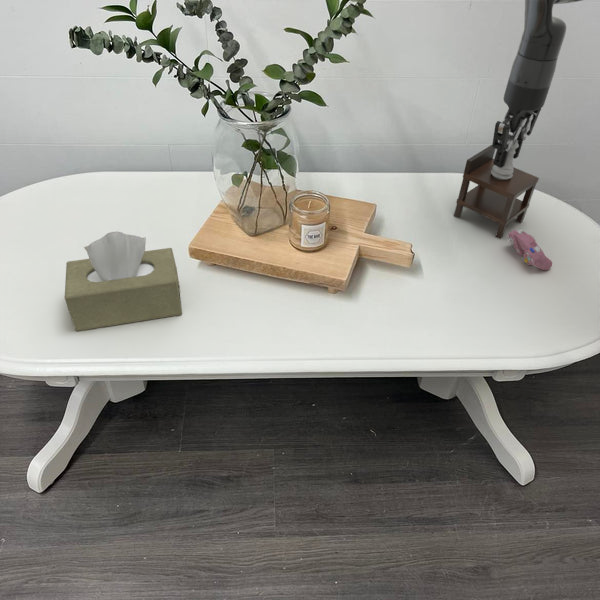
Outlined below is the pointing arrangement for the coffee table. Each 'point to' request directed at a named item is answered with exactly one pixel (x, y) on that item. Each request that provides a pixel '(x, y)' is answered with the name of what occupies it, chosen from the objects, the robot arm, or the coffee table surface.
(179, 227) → the coffee table surface
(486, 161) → the stand
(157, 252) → the tissue box
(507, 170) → the rook chess piece
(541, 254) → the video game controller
